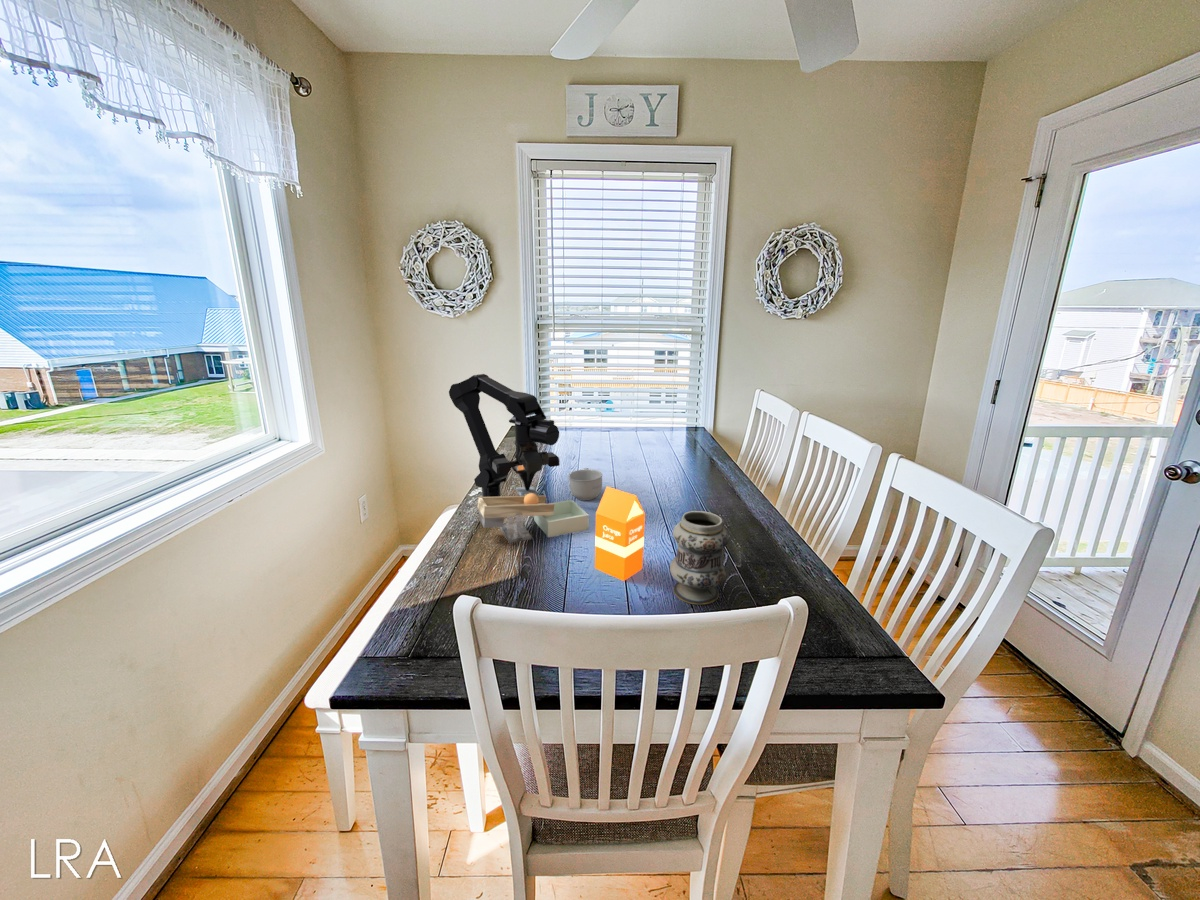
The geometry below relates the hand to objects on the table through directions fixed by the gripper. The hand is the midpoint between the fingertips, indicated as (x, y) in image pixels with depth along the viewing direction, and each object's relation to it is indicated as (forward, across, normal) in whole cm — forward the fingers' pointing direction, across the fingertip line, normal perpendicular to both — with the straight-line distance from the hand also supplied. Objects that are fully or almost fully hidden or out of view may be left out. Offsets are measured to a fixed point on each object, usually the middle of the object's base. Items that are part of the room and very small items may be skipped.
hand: (527, 490), depth 146 cm
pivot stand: (+8, -7, -11) cm, 15 cm away
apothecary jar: (+8, +21, -55) cm, 60 cm away
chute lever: (+4, -7, -6) cm, 10 cm away
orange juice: (+8, +10, -39) cm, 41 cm away
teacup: (+8, +22, +7) cm, 25 cm away
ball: (-1, -2, -11) cm, 11 cm away
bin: (+8, +6, -11) cm, 15 cm away
